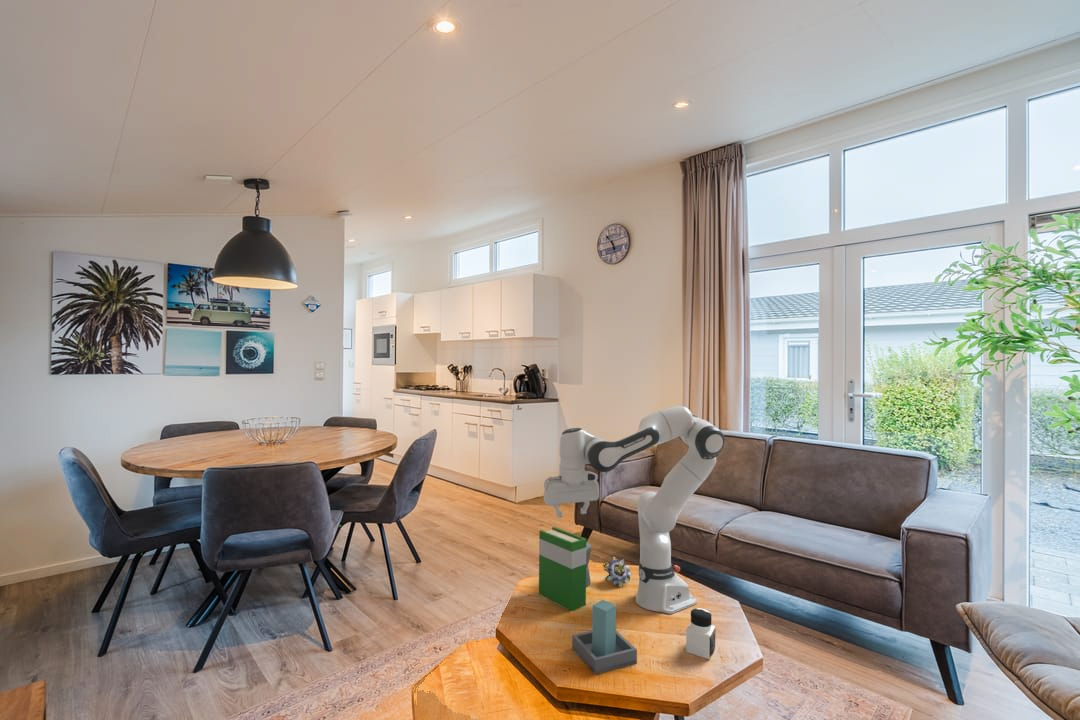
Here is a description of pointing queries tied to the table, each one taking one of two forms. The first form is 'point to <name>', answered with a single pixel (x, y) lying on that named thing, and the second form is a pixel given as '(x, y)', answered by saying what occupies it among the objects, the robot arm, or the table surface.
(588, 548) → the coffeepot
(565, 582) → the hardback book
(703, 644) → the medicine bottle
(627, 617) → the table surface
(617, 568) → the passion flower
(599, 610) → the tall teal prism
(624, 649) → the box
